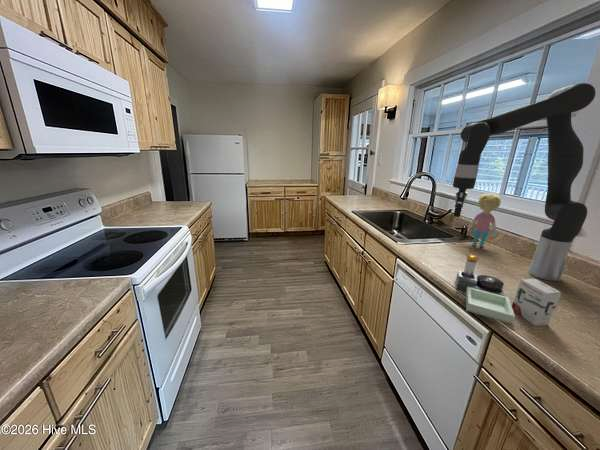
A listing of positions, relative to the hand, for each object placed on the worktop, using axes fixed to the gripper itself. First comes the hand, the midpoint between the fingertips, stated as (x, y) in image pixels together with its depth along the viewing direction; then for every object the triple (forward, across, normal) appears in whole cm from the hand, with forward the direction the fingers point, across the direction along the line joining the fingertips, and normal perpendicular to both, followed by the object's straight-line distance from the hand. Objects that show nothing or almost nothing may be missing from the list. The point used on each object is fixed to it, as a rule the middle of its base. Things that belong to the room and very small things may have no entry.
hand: (456, 214), depth 103 cm
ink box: (+25, -23, -25) cm, 43 cm away
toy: (+25, +40, -13) cm, 50 cm away
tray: (+25, -26, -14) cm, 38 cm away
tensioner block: (+25, -14, -12) cm, 31 cm away
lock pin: (+22, -14, -8) cm, 27 cm away
